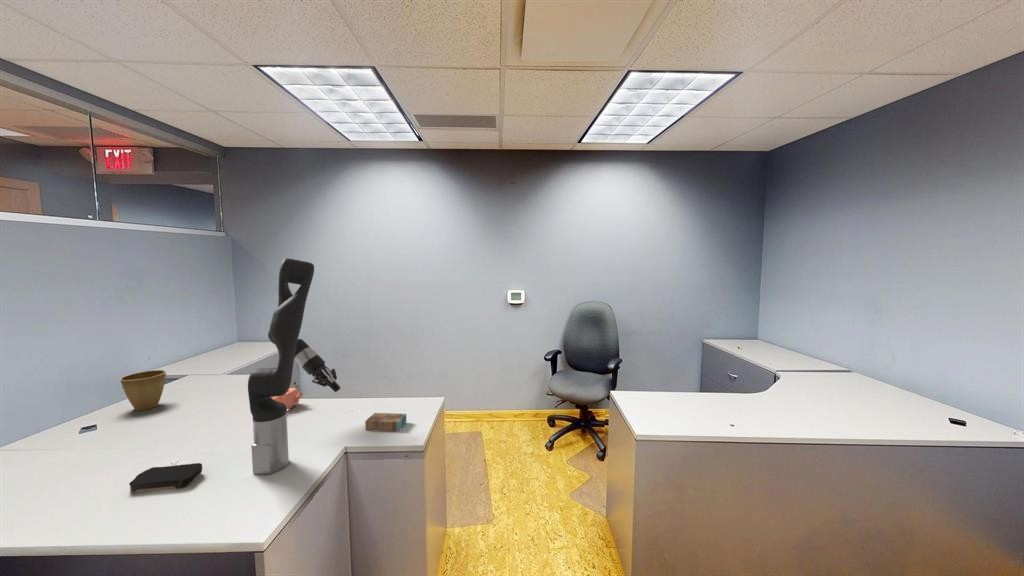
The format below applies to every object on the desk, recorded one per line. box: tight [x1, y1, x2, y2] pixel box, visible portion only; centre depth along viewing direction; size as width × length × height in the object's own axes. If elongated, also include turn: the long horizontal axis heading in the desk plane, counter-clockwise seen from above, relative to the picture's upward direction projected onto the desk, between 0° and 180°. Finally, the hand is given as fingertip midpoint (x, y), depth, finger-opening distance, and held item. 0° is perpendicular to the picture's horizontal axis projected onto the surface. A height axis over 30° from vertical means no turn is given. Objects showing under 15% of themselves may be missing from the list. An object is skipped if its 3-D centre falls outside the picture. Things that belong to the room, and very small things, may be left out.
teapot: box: [271, 387, 304, 410], centre depth 163 cm, size 12×12×10 cm
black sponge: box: [128, 462, 203, 494], centre depth 107 cm, size 16×8×4 cm, turn 99°
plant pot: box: [119, 369, 167, 411], centre depth 164 cm, size 15×15×16 cm
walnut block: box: [364, 412, 407, 432], centre depth 144 cm, size 8×4×14 cm
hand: (338, 390), depth 145 cm, fingers closed
